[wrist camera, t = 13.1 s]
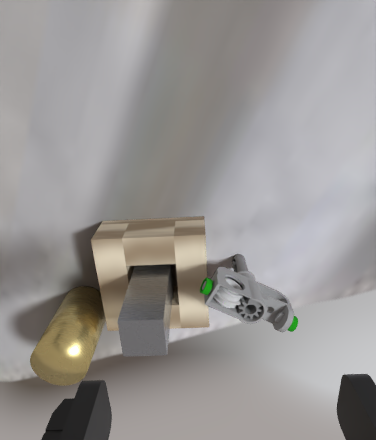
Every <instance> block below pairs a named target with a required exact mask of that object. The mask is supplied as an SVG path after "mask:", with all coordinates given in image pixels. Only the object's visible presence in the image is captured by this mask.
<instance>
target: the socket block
mask: <svg viewBox="0 0 376 440" xmlns="http://www.w3.org/2000/svg"><path fill="white" fill-rule="evenodd" d="M91 244H92V249H93V254H94V260H95V265H96V270H97V276H98V281H99V286H100V292H101V297H102V302H103V308H104V313H105V318H106V324H107V329H108V331H114V330H119V328H118V322H117V321H118V317H119V314H120V311H121V308H122V305H123V301H124V298H125V295H126V292H127V289H128V286H129V282H130V279H131V276H132V273H133V270H134V266H136V265H160V264H173V275H174V287H173V297H172V308H171V318H170V329H171V328H200V327H209V313H208V306H207V305H205V300H204V294H202V293H200V287H201V284H202V282H203V280H204V279H205V278H206V277H207V262H206V236H205V223H204V217H182V218H160V219H139V220H117V221H102V223H101V225H100V226H99V228H98V229H97V231H96V232H95V234H94V236H93V237H92V239H91Z"/></svg>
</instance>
